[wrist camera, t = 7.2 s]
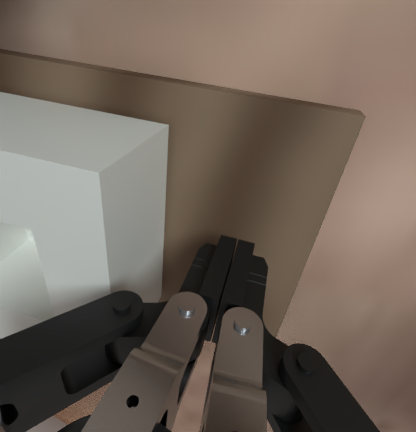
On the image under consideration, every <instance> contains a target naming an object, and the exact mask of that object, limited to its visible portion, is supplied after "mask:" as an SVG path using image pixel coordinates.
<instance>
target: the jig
mask: <svg viewBox="0 0 416 432" xmlns="http://www.w3.org/2000/svg"><path fill="white" fill-rule="evenodd" d="M0 92H4V93H9V94H14V95H19V96H24V97H29V98H34V99H39V100H44V101H50V102H55V103H60V104H65V105H70V106H75V107H80V108H85V109H90V110H95V111H101V112H106V113H111V114H116V115H121V116H126V117H131V118H136V119H141V120H147V121H152V122H157V123H162V124H167V125H169V132H168V155H167V178H166V201H165V224H164V247H163V270H162V293H161V297H160V299H159V301H158V303H159V302H165V301H168V300H169V299H170V298H171V297H172V296H174V295H175V294H177V293H178V292H179V291H180V288H181V286H182V284H183V282H184V280H185V278H186V275H187V273H188V271H189V269H190V267H191V265H192V262H193V260H194V259H195V256H196V254H197V252H198V249H199V248H201V247H202V246H203V245H204V244H206V243H209V244H213V245H217V244H218V242H219V239H220V236H221V235H225V236H228V237H232V238H236V239H237V243H238V240H239V239H240V240H244V241H248V242H252V243H255V246H254V251H253V255H255V256H259V257H263V258H265V261H266V263H267V266H268V274H267V282H266V290H265V298H264V307H263V317H262V318H263V322H264V325H265V327H266V329H267V330H268V331H269V332H270V334H271V335H273V336H274V337H275V338H276V335H277V333H278V330H279V328H280V326H281V323H282V321H283V318H284V316H285V313H286V311H287V308H288V306H289V303H290V301H291V299H292V296H293V294H294V291H295V289H296V286H297V284H298V281H299V279H300V276H301V274H302V272H303V269H304V267H305V264H306V262H307V259H308V257H309V254H310V252H311V249H312V247H313V245H314V242H315V240H316V237H317V235H318V232H319V230H320V227H321V225H322V222H323V220H324V217H325V215H326V213H327V210H328V208H329V205H330V203H331V200H332V198H333V195H334V193H335V190H336V188H337V186H338V183H339V181H340V178H341V176H342V173H343V171H344V168H345V166H346V163H347V161H348V159H349V156H350V154H351V151H352V149H353V146H354V144H355V141H356V139H357V136H358V134H359V131H360V129H361V127H362V124H363V122H364V119H365V115H364V114H363V113H362V112H361V111H359V110H353V109H347V108H342V107H336V106H330V105H324V104H318V103H312V102H306V101H301V100H295V99H289V98H283V97H277V96H271V95H266V94H260V93H254V92H248V91H242V90H236V89H231V88H225V87H219V86H213V85H207V84H201V83H195V82H190V81H184V80H178V79H172V78H166V77H160V76H155V75H149V74H143V73H137V72H131V71H125V70H119V69H114V68H108V67H102V66H96V65H90V64H84V63H79V62H73V61H67V60H61V59H55V58H49V57H44V56H38V55H32V54H26V53H20V52H14V51H8V50H3V49H0ZM237 243H236V247H237ZM236 247H235V250H236ZM234 254H235V252H234ZM233 257H234V256H233ZM232 261H233V260H232ZM217 317H218V316H217ZM216 321H217V319H216ZM215 324H216V323H215Z"/></svg>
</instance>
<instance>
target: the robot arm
mask: <svg viewBox="0 0 416 432" xmlns="http://www.w3.org/2000/svg"><path fill="white" fill-rule="evenodd" d="M236 243H237V239H236V238H232V237H228V236H225V235H221V236H220V239H219V242H218V244H217V245H213V244H209V243H206V244H204V245H203V246H202V247H201V248H199V249H198V252H197V254H196V256H195V259H194V260H193V262H192V265H191V267H190V269H189V271H188V273H187V275H186V278H185V280H184V282H183V284H182V286H181V288H180V291H179V292H178V293H177V294H175V295H174V296H172V297H171V298H170V299H169V300H168V301H165V302H159V303H143V301H142V299H141V297H140V296H139V295H138V294H136V293H135V292H132V291H127V290H123V291H117V292H114V293H111V294H109V295H106V296H104V297H102V298H99V299H97V300H94V301H92V302H89V303H87V304H85V305H82V306H80V307H77V308H75V309H72V310H70V311H68V312H65V313H63V314H60V315H58V316H55V317H53V318H51V319H48V320H46V321H43V322H41V323H38V324H36V325H33V326H31V327H29V328H26V329H24V330H21V331H19V332H16V333H14V334H12V335H9V336H7V337H4V338H2V339H0V432H26V431H27V430H29V429H30V428H32V427H34V426H36V425H38V424H39V423H41V422H43V421H44V420H46V419H48V418H49V417H51V416H53V415H55V414H56V413H58V412H60V411H61V410H63V409H65V408H67V407H68V406H70V405H72V404H73V403H75V402H77V401H79V400H80V399H82V398H84V397H85V396H87V395H89V394H90V393H92V392H94V391H96V390H97V389H99V388H101V387H102V386H104V385H106V384H108V383H109V382H111V381H112V383H111V384H110V386H109V387H108V389H107V391H106V392H105V394H104V395H103V397H102V399H101V400H100V402H99V403H98V405H97V407H96V408H95V410H94V412H93V413H92V415H88V416H86V417H83V418H80V419H78V420H76V421H74V422H72V423H70V424H69V425H67V426H65V427H64V428H62V429H61V430H59V431H58V432H171V431H172V428H173V425H174V421H175V418H176V414H177V411H178V409H179V406H180V403H181V401H182V398H183V396H184V393H185V391H186V388H187V386H188V383H189V380H190V378H191V375H192V373H193V370H194V368H195V365H196V363H197V360H198V357H199V355H200V353H201V350H202V347H203V344H204V340H207V341H210V340H211V337H212V333H213V330H214V326H215V323H216V326H215V330H214V335H213V339H212V342H214V343H216V347H215V352H214V356H213V360H212V364H211V370H210V375H209V381H208V387H207V392H206V398H205V404H204V409H203V415H202V420H201V425H200V430H199V432H267V419H268V421H269V423H270V425H271V427H272V429H273V431H274V432H380V431H379V430H378V429H377V427H376V426H375V425H374V423H373V422H372V421H371V419H370V418H369V417H368V415H367V414H366V413H365V411H364V410H363V409H362V408H361V406H360V405H359V404H358V402H357V401H356V400H355V398H354V397H353V396H352V394H351V393H350V392H349V390H348V389H347V388H346V386H345V385H344V384H343V382H342V381H341V380H340V379H339V377H338V376H337V375H336V373H335V372H334V371H333V369H332V368H331V367H330V365H329V364H328V363H327V361H326V360H325V359H324V357H323V356H322V355H321V354H320V353H319V352H318V351H317V350H315V349H314V348H312V347H310V346H308V345H305V344H299V343H298V344H292V345H290V346H287V345H286V344H284V343H283V342H281V341H279V340H278V339H276V338H275V337H274V336H273V335H271V334H270V332H269V331H268V330H267V329H266V327H265V325H264V322H263V318H262V317H263V307H264V298H265V290H266V282H267V274H268V266H267V263H266V261H265V258H263V257H259V256H255V255H253V251H254V246H255V243H252V242H248V241H244V240H240V239H239V240H238V243H237V247H236ZM235 247H236V250H235ZM234 252H235V254H234ZM233 256H234V257H233ZM232 260H233V261H232ZM217 316H218V317H217ZM216 319H217V321H216Z"/></svg>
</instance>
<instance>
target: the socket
mask: <svg viewBox="0 0 416 432" xmlns="http://www.w3.org/2000/svg"><path fill="white" fill-rule="evenodd" d="M168 132H169V125H167V124H162V123H157V122H152V121H147V120H141V119H136V118H131V117H126V116H121V115H116V114H111V113H106V112H101V111H95V110H90V109H85V108H80V107H75V106H70V105H65V104H60V103H55V102H50V101H44V100H39V99H34V98H29V97H24V96H19V95H14V94H9V93H4V92H0V338H4V337H7V336H9V335H12V334H14V333H16V332H19V331H21V330H24V329H26V328H29V327H31V326H33V325H36V324H38V323H41V322H43V321H46V320H48V319H51V318H53V317H55V316H58V315H60V314H63V313H65V312H68V311H70V310H72V309H75V308H77V307H80V306H82V305H85V304H87V303H89V302H92V301H94V300H97V299H99V298H102V297H104V296H106V295H109V294H111V293H114V292H117V291H123V290H127V291H132V292H135V293H136V294H138V295H139V296H140V297H141V299H142V301H143V303H158V301H159V299H160V297H161V293H162V270H163V247H164V224H165V201H166V178H167V155H168Z"/></svg>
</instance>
